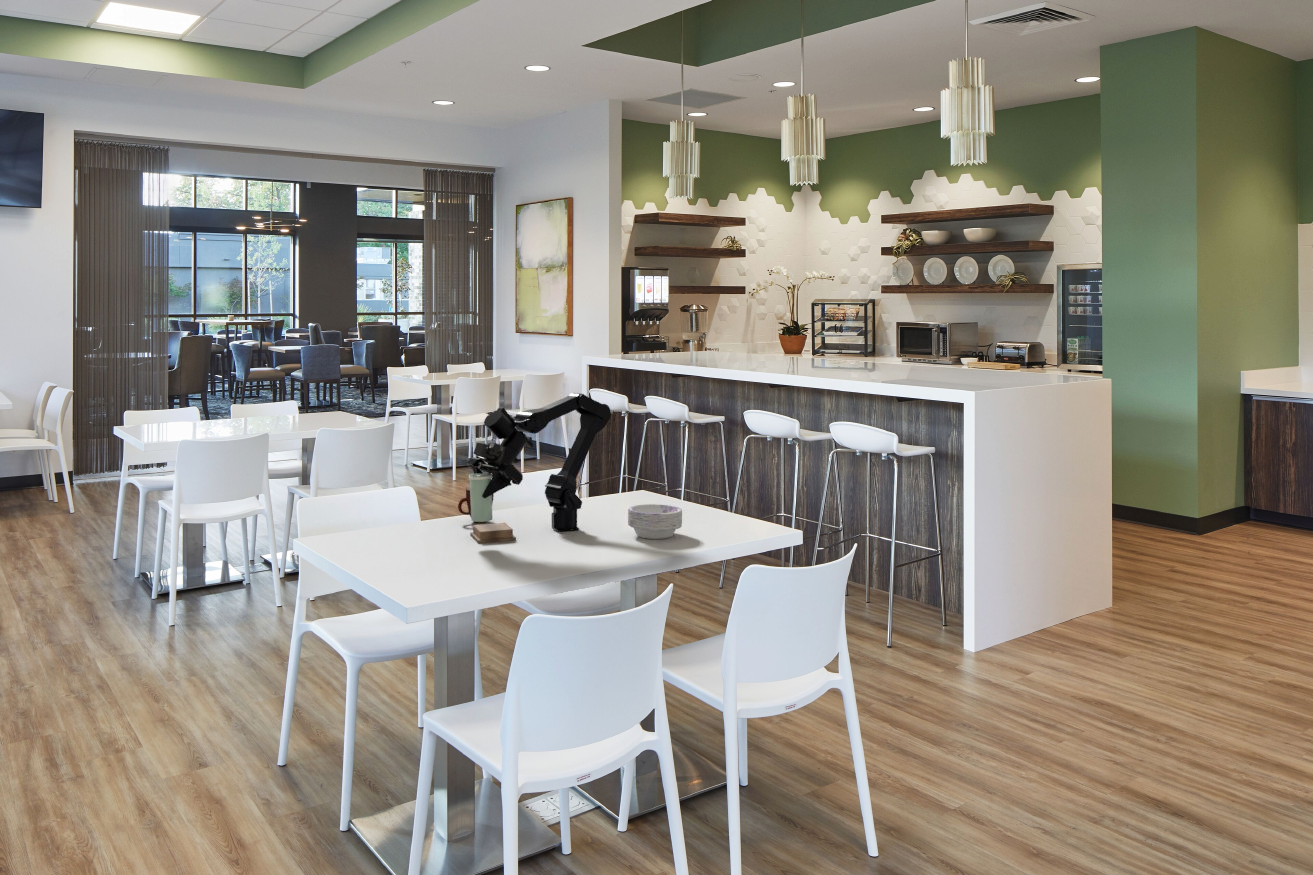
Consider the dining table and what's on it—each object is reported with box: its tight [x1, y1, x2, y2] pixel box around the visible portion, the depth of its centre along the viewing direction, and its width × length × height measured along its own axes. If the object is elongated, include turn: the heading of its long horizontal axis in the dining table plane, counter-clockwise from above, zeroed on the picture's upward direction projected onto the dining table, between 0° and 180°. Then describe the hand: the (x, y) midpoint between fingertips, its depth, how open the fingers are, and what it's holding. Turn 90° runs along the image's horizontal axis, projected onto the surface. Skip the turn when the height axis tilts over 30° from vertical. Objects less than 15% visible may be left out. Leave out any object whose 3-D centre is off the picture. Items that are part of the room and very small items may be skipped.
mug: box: [457, 486, 495, 524], centre depth 294 cm, size 11×8×10 cm
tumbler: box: [468, 473, 493, 523], centre depth 265 cm, size 6×6×12 cm
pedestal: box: [470, 522, 517, 544], centre depth 275 cm, size 10×10×3 cm
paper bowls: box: [627, 503, 683, 540], centre depth 278 cm, size 15×15×8 cm
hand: (476, 495), depth 264 cm, fingers closed on tumbler, 6 cm apart
